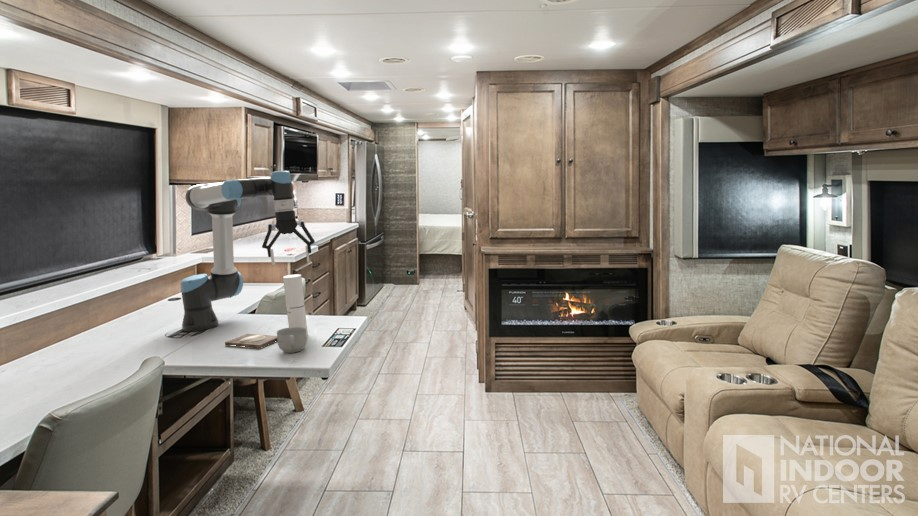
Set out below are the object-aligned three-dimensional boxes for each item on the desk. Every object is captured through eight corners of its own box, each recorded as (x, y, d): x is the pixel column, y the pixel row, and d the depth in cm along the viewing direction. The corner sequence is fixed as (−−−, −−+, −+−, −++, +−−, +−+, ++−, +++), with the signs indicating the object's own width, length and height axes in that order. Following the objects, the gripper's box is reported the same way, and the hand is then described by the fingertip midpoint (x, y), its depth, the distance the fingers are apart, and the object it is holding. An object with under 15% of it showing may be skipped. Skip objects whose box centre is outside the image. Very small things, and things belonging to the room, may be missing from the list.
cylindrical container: (303, 338, 243) (296, 277, 239) (286, 338, 245) (279, 278, 241) (310, 333, 250) (304, 274, 246) (294, 333, 252) (288, 274, 248)
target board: (225, 345, 240) (224, 341, 240) (247, 337, 251) (247, 333, 251) (259, 348, 233) (259, 344, 233) (281, 339, 243) (280, 335, 243)
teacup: (282, 347, 233) (279, 327, 231) (310, 344, 233) (308, 324, 232) (274, 358, 219) (271, 337, 218) (304, 356, 220) (302, 334, 219)
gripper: (250, 213, 234) (257, 267, 237) (316, 208, 238) (322, 261, 241) (253, 212, 241) (260, 265, 244) (317, 207, 245) (323, 258, 248)
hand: (291, 263), depth 243 cm, fingers open, 13 cm apart
